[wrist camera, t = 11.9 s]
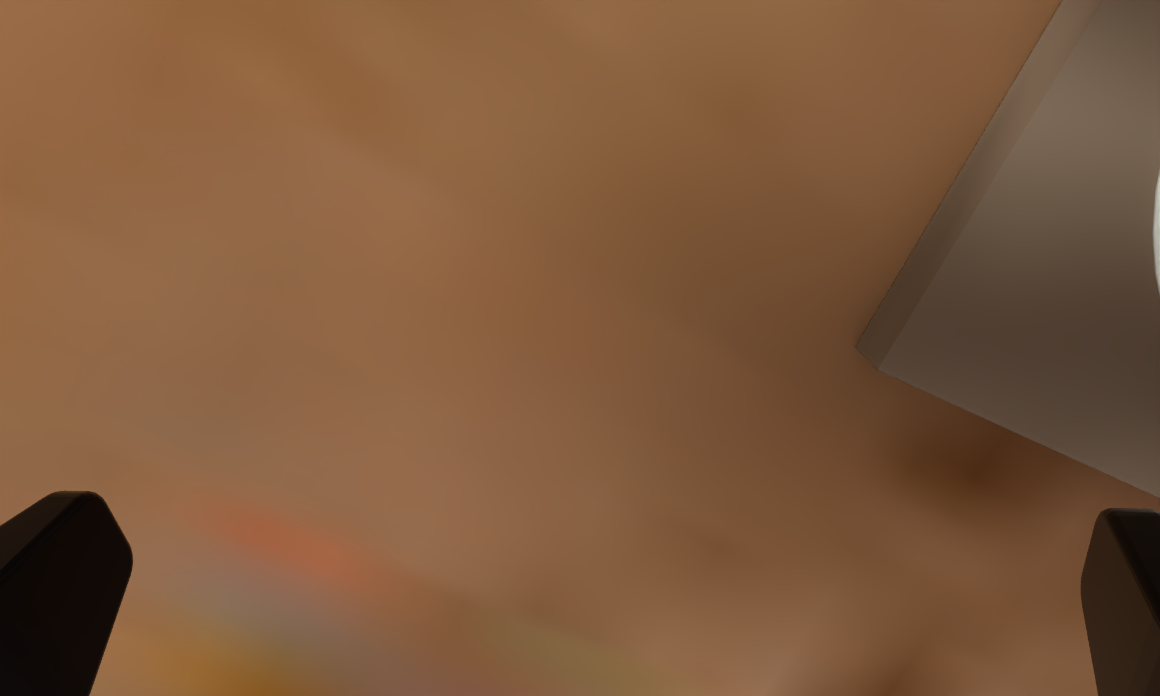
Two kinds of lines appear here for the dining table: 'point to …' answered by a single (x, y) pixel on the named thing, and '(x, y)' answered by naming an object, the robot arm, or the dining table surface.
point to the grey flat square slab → (1050, 254)
